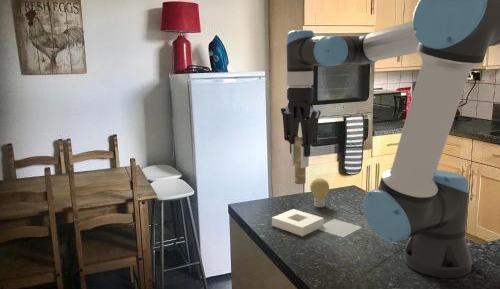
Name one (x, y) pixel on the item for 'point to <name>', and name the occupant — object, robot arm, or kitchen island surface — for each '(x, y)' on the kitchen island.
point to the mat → (339, 228)
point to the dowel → (299, 162)
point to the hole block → (297, 222)
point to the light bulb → (319, 191)
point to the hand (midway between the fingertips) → (299, 165)
